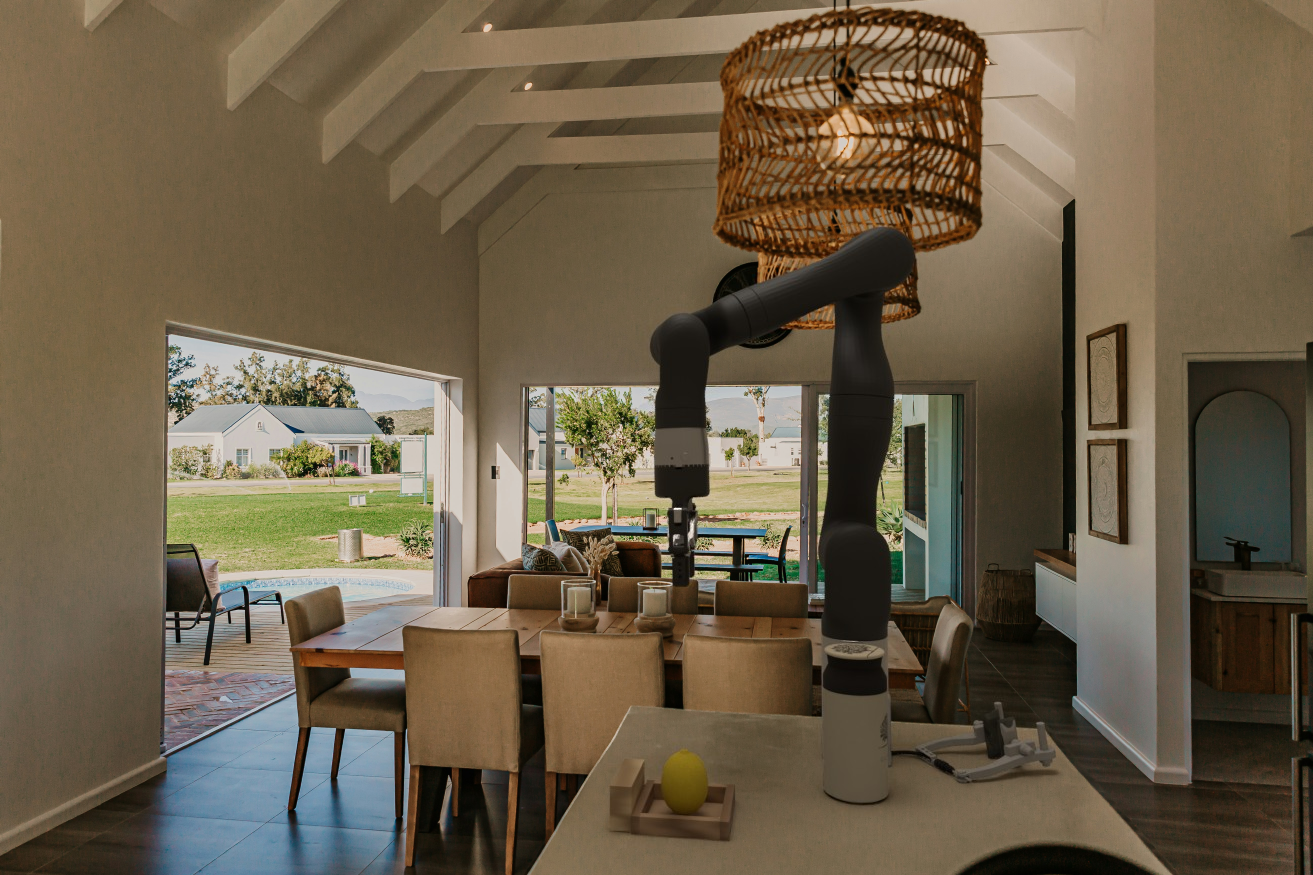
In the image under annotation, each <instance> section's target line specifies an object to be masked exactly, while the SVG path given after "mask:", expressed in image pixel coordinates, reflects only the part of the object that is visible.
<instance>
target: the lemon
mask: <svg viewBox="0 0 1313 875" xmlns="http://www.w3.org/2000/svg"><path fill="white" fill-rule="evenodd" d="M661 773H662V774H661V779H660V780H661V791H662V795H663V798H664V801H665V803H666V805H667V806H668V807H669V808H670V809H671V810H672V811H674V812H675V813H678V814H679V815H682V816H689V815H690V814H692V813H694V812H696V811H698V810H699V809H700V808H701V807H702V805H703V804H704V802H705V799H706V797H707V793H708V783H709V779H708V777H709V776H708V774H707V770H706V766H705V764H704V762H703V759H701V758H700V757H699V756H698V755H697V754H696V753H693V752H691V751H689V750H688V749H687V748H682V749H680V751H678V752H676V753H673V754H672V755H671V756H670V757H669V758H668V759H667V760H666V762H665V763H664V766H663V769H662V772H661Z"/></svg>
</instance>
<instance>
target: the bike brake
mask: <svg viewBox="0 0 1313 875" xmlns="http://www.w3.org/2000/svg"><path fill="white" fill-rule="evenodd" d="M993 705H994V709H992V710H988V711H985V712H982V713H981V719H982V720H974V722H973V726H972V728H973V732H970V733H963V734H956V735H953V736H946V737H941V738H936V739H934V740H930V741H927V742H924V743H922V744H919V745H915V747H914V749H915V750H903V749H901V750H899V749H898V750H891V756H895V755H911V756H917V757H918V758H920V759H921V760H923V761H924V762H926V763H927V764H929V765H930V766H935V767H936V768H938V769H939V770H940V771H942V772H944V773H947V774H950V775H954V774H955V779H956V781H957V782H959V783H961V784H967V783H968V782H970V783H972V782H973V781H974V780H980V779H984V778H989V777H993V776H997V775H998V774H1002V773H1003V772H1006V771H1009V770H1012V769H1014V768H1017V767H1020V766H1023V765H1026V764H1030V763H1033V762H1039V763H1040V764H1041V765H1042V767H1044V768H1049V767H1051V764H1052V763H1053V760H1054V759H1056V758H1057V752H1056V748H1055V747H1054V746H1053V745H1049V744H1048V740H1047V739H1048V738H1047V733H1046V732H1047V731H1046V725H1045V722H1043V721H1037V722H1036V724H1035V725H1036V729H1037V738H1038V745H1039V746H1036V742H1035V741H1034V740H1033V739H1032V738H1030V739H1025V740H1019V738H1018V731H1017V725H1016V718H1015V716H1014V715H1012V716H1009V717H1008V716H1007V717H1005V716H1004V711H1003V705H1002V702H1000V701H995V702H994V703H993ZM984 743H985V748H986V754H987V758H988V759H990V760H991V759H997V760H996V761H995V762H992V763H990V764H987V765H984V766H983V765H982V766H979V767H975V768H969V769H964V768H959V769H957V770H956V768H954V767H953V766H952V765H951V764H950V763H949V762H947V761H945V760H942V759H939V758H938V757H937V754H935V753H933V752H934V751H938V750H941V749H945V748H946V749H947V748H951V747H965V746H975V745H981V744H984Z"/></svg>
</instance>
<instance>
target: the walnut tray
mask: <svg viewBox="0 0 1313 875" xmlns="http://www.w3.org/2000/svg"><path fill="white" fill-rule="evenodd" d="M735 804H736V784H732V783H731V784H730V783H729V784H728V783H714V782H708V793H707V797H706V799H705V802H704V804H703V805H702V807H701V808H700V809H699V810H698V811H696V812H694V813H692V814H690V815H689V816H682V815H679V814H678V813H675V812H674V811H672V810H671V809H670V808H669V807H668V806H667V805H666V803H665V801H664V798H663V795H662V791H661V779H659V780H657V779H655V780H654V779H646V781H645V785H644V788H643V790H642V792H641V794H640V797H639V799H638V801H637V803H636V806H635V808H634V810H633V812H632V815H631V832H630V835H632V836H633V835H634V836H635V835H636V836H648V837H665V838H675V839H676V838H677V839H679V838H680V839H690V840H691V839H692V840H710V841H722V842H723V841H724V842H729V841H730V836H731V829H732V824H733V817H734V811H735V810H734V809H735V806H736V805H735ZM719 817H720V818H719Z"/></svg>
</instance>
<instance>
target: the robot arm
mask: <svg viewBox="0 0 1313 875" xmlns="http://www.w3.org/2000/svg"><path fill="white" fill-rule="evenodd" d="M915 255H916V253H915V248H914V245H913V244H912V241H911V240H910V239H909V237H908V236H907V235H906V234H904V233H903V232H902V231H901V230H898V229H897V228H894V227H890V226H878V227H877V226H876V227H873V228H869V229H867V230H865V231H863V232H861V233H859V234H858V235H857V236H854V237H852V238H851V239H849V240H847V241H845V243H844V244H842V246H841V247H840V248H839V250H837V251H835V252H833V253H832V254H830V255H827V256H825V257H823V258H821V259H819V260H817V261H814V262H812V263H810V264H808V265H805V266H802V267H800V268H798V269H794V270H792V271H789V272H786V273H783V274H781V275H780V274H779V275H777V276H774V277H772V278H770V279H766V280H763V281H761V282H758V283H755V284H752V285H750V286H748V287H745V288H742V289H739V290H738V291H735V292H733V293H730V294H728V295H725V296H723V297H722V298H719V299H717V300H716V301H715V302H713V303H712V304H710V305H709V306H706V307H703V308H701V309H699V310H696V311H694V312H691V313H688V312H681V313H675V314H672V315H671V316H669V317H668V318H666V319H665V320H664V321H662V323H661V324H660V325H658V326H657V327H656V329H655V330H654V331H653V333H652V335H651V337H650V342H649V352H650V354H651V357H652V358H653V359H652V360H654V362H656V364H657V365H659V384H658V389H657V391H656V393H655V399H654V429H655V431H654V440H653V474H654V475H653V479H654V496H655V497H657V498H659V499H670V500H671V507H668V510H666V511H667V513H666V522H667V541H668V547H667V551H668V554H669V556H670V558H671V577H672V579H671V580H672V586H673V587H676V588H687V587H689V585H690V582H691V581H690V579H692V578H694V577H695V575H696V570H695V568H696V567H695V566H696V564H695V560H696V559H695V558H696V557H695V550H696V548H697V542H698V533H699V532H698V530H699V527H698V523H699V510H696V509H697V505H696V502H693V498H694V499H695V498H696V499H697V498H706V497H708V496H709V495H710V491H711V490H710V489H711V488H710V449H709V448H710V447H709V445H710V444H709V438H708V431H707V405H706V404H707V403H706V389H707V381H708V376H709V367H710V358H711V357H712V356H714V355H716V354H718V353H720V352H722V351H724V350H726V349H729V348H733V347H735V346H740V345H742V344H744V343H747V342H751V341H752V340H755V339H757V338H760V337H763V336H764V335H767V334H770V333H772V332H774V331H776V330H778V329H780V328H782V327H784V326H787V325H789V324H791V323H793V322H795V321H797V320H799V319H801V318H803V317H806V316H807V315H809V314H811V313H814V312H816V311H818V310H820V309H822V308H824V307H826V306H830V305H832V304H833V308H834V309H833V312H834V334H833V337H834V338H833V347H832V357H831V376H830V386H829V398H828V412H827V444H826V445H827V450H826V453H827V459H826V460H827V462H826V463H827V488H826V489H827V490H826V499H825V504H824V513H823V517H822V523H821V530H820V534H819V539H818V544H817V557H818V560H819V561H818V562H819V564H820V566H821V568H822V569H823V572H824V576H823V577H824V580H823V582H824V585H823V586H824V592H823V593H824V595H823V596H824V599H823V600H824V602H823V610H822V615H821V619H820V623H821V624H820V628H821V629H820V630H821V631H820V633H821V643H820V644H821V648H820V649H821V746H822V749H821V750H822V756H823V672H824V670H825V668H826V666H827V664H828V659H827V654H826V653H825V651H824V649H825V647H827V646H829V645H833V644H843V643H854V644H866V645H872V646H876V647H879V648H881V649H883V650H884V652H885V654H884V656H883V657H882V664H881V666H882V668H883V670H884V672H885V674H886V676H887V718H888V767H889V766H892V755H891V751H892V716H891V714H892V708H891V704H892V703H891V701H892V699H891V695H890V692H889V652H888V651H889V638H888V636H889V635H888V634H889V628H888V626H889V621H890V618H891V615H892V580H893V579H892V571H893V570H892V566H893V565H892V555H891V549H890V546H889V543H888V541H887V540H886V538H885V537H884V535H883V534H882V533H881V532H880V531H879V530H878V523H877V522H878V521H877V520H878V519H877V518H878V516H877V513H878V512H877V511H878V510H877V509H878V508H877V504H878V500H877V499H878V489H879V484H880V479H881V475H882V472H883V468H884V465H885V462H886V460H887V455H888V451H889V448H890V444H891V439H892V434H893V426H894V410H895V395H896V394H895V382H894V377H893V372H892V368H891V366H890V362H889V359H888V356H887V353H886V349H885V347H884V346H885V345H884V343H883V334H882V325H883V324H882V323H883V322H882V320H883V310H884V303H885V296H886V293H888V292H891V291H892V290H895V289H896V288H897V287H899V286H900V285H902V284H903V283H904V282H905V281H906V280H907V279H908V277H910V274H911V273H912V270H913V267H914V266H915V260H916V257H915Z"/></svg>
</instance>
